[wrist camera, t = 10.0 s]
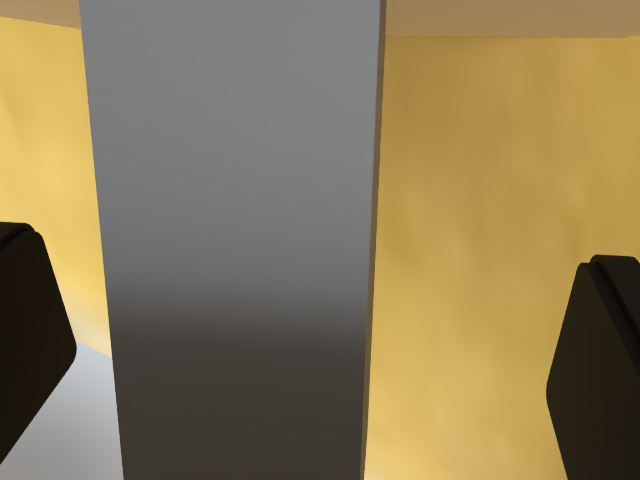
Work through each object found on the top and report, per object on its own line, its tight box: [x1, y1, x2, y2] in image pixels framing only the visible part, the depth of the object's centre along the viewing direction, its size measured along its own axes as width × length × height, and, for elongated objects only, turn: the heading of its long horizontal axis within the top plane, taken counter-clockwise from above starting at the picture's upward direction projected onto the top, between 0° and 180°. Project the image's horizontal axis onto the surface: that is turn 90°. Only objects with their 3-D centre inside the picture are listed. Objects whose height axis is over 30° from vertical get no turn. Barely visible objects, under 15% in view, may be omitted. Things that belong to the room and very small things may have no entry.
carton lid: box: [0, 0, 640, 480], centre depth 15 cm, size 18×20×9 cm
